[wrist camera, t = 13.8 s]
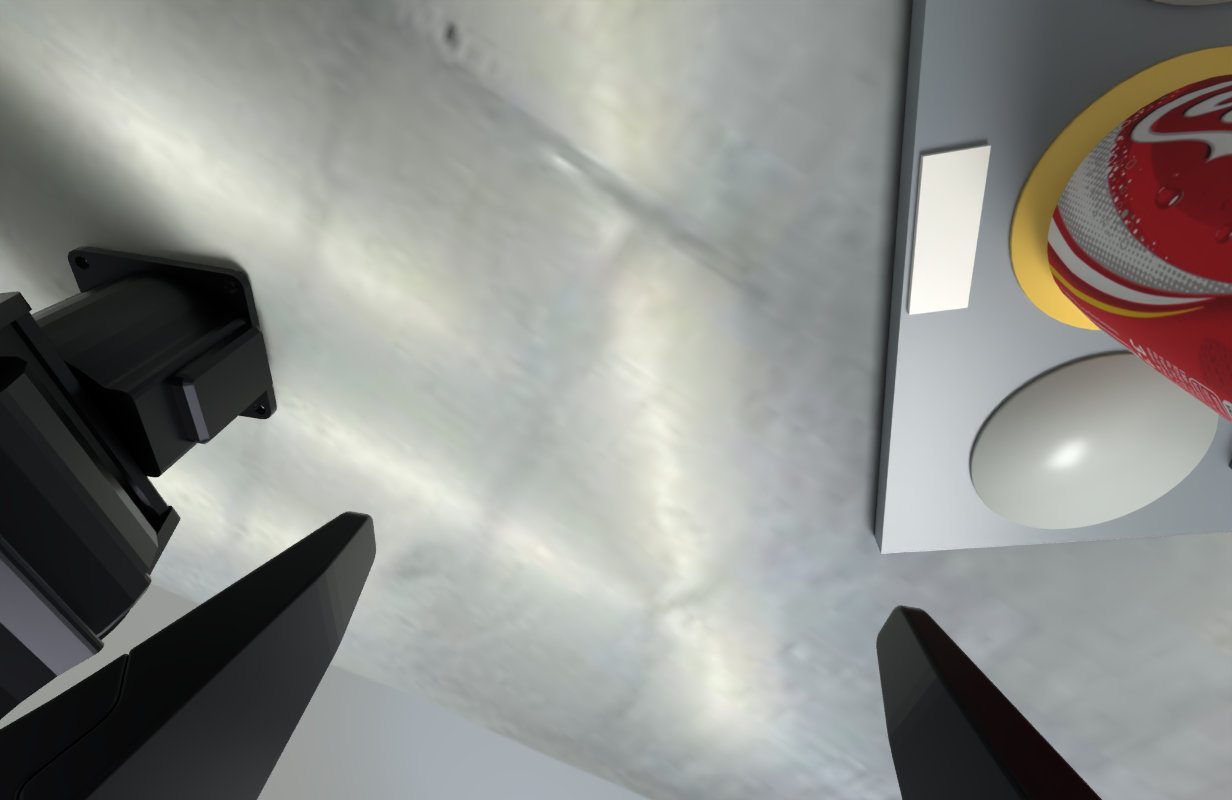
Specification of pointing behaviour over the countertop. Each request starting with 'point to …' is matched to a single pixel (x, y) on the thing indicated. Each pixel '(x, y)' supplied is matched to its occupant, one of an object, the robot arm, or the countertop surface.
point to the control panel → (1031, 288)
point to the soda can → (1158, 238)
